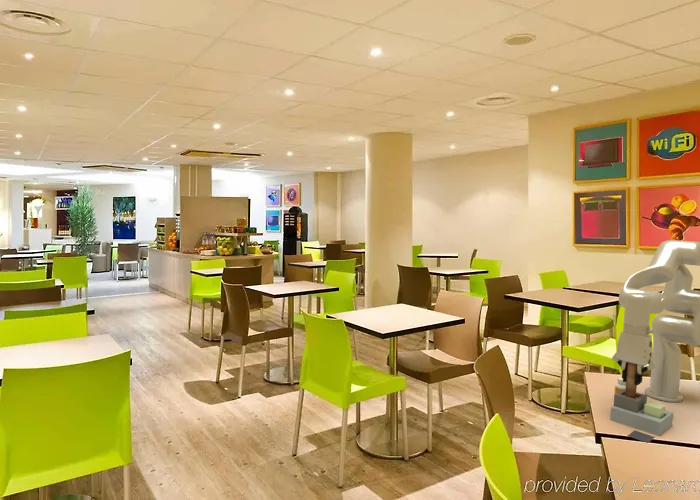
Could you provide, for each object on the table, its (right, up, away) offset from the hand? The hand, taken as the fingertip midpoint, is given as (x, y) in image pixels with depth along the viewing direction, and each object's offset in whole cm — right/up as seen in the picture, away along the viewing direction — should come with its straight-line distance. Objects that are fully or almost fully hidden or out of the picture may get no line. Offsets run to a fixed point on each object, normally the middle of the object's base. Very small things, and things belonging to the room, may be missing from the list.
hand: (631, 382), depth 173 cm
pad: (-3, -15, -11) cm, 19 cm away
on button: (+5, -11, -4) cm, 13 cm away
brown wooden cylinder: (0, -5, +1) cm, 5 cm away
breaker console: (+2, -14, -1) cm, 14 cm away
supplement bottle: (+5, -12, +16) cm, 20 cm away
